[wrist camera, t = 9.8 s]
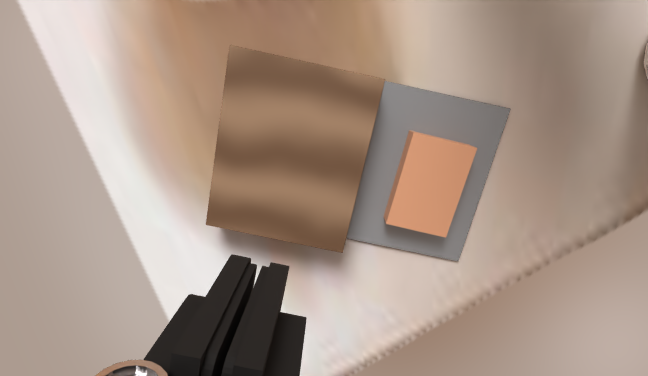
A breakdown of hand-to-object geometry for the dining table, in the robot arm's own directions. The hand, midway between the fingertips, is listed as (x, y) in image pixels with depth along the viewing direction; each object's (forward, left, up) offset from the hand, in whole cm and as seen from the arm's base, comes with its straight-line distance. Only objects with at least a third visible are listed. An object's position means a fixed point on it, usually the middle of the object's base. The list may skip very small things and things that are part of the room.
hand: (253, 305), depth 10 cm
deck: (0, -2, -27) cm, 27 cm away
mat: (0, +11, -27) cm, 29 cm away
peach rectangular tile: (+1, +12, -24) cm, 27 cm away
